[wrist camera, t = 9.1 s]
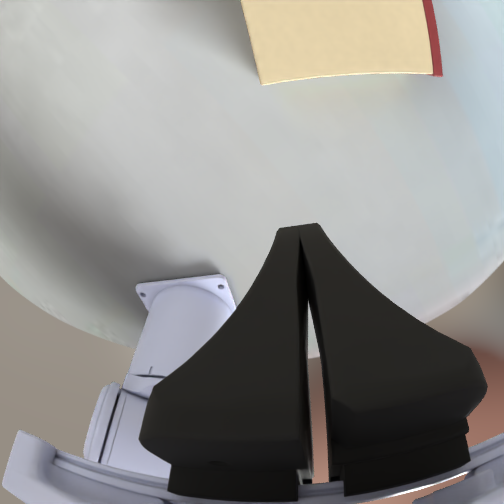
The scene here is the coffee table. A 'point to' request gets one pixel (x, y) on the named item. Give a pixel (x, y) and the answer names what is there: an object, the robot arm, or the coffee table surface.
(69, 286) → the coffee table surface
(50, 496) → the robot arm
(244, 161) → the coffee table surface
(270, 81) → the book
